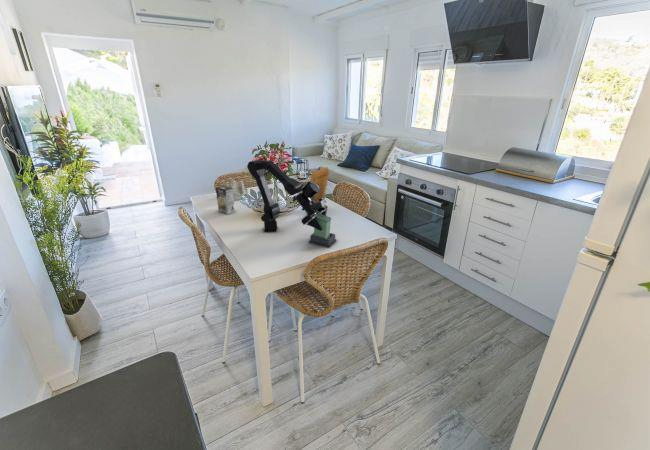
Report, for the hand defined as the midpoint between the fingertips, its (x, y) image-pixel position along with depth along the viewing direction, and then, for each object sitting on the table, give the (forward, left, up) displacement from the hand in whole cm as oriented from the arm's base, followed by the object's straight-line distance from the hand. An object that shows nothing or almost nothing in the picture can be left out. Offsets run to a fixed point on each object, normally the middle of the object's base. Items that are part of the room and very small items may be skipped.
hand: (325, 227), depth 159 cm
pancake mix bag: (+2, +45, -9) cm, 46 cm away
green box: (-2, +1, -7) cm, 7 cm away
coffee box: (-56, +52, -9) cm, 77 cm away
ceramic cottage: (-53, +82, -9) cm, 98 cm away
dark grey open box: (-1, +1, -9) cm, 9 cm away
